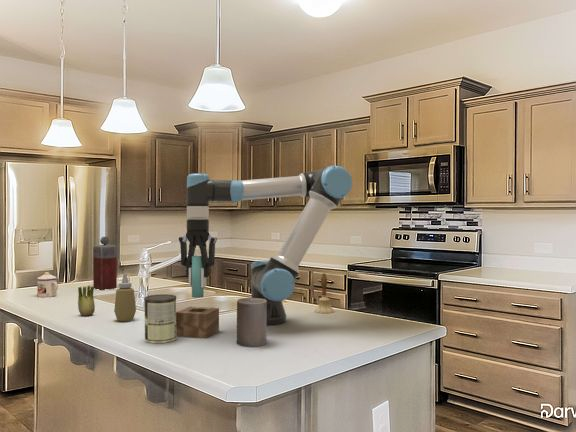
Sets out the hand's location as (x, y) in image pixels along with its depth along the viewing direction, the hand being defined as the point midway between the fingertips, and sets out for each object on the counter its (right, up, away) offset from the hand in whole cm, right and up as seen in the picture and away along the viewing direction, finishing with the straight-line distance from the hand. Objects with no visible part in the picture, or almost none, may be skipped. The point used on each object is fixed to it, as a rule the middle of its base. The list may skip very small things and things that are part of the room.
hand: (197, 286), depth 178 cm
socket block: (0, -16, 0) cm, 16 cm away
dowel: (0, -4, 0) cm, 4 cm away
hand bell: (+47, -16, +39) cm, 63 cm away
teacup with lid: (-86, -15, +76) cm, 116 cm away
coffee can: (-11, -17, -8) cm, 21 cm away
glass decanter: (-68, -15, +101) cm, 123 cm away
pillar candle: (+20, -17, -12) cm, 28 cm away
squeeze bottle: (-32, -16, +21) cm, 41 cm away
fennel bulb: (-50, -16, +30) cm, 60 cm away
